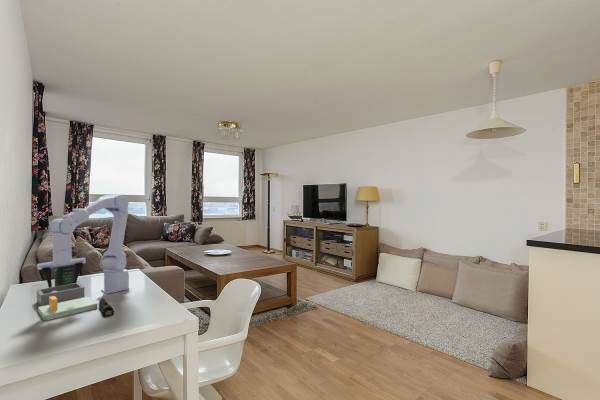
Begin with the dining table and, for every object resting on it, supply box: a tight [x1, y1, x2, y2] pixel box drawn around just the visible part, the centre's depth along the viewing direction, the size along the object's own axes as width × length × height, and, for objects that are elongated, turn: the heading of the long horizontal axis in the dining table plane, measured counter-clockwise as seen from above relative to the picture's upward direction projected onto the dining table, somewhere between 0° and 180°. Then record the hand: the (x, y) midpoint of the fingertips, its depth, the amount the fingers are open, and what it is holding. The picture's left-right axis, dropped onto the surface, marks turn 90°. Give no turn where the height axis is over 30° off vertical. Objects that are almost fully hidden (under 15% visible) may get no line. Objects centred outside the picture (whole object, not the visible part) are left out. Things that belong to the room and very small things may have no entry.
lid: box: [37, 296, 98, 322], centre depth 114 cm, size 16×12×6 cm
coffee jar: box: [54, 249, 77, 287], centre depth 140 cm, size 10×8×19 cm
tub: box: [36, 281, 85, 307], centre depth 124 cm, size 14×10×5 cm
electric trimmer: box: [98, 297, 115, 318], centre depth 114 cm, size 4×16×3 cm, turn 41°
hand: (62, 284), depth 115 cm, fingers open, 7 cm apart
